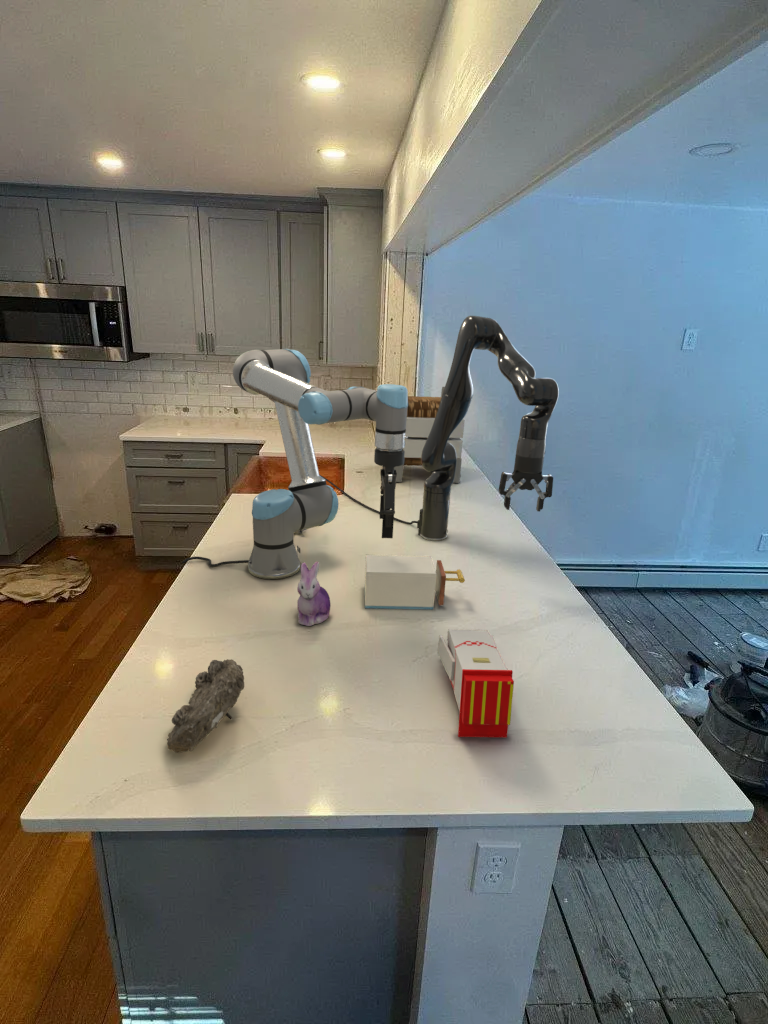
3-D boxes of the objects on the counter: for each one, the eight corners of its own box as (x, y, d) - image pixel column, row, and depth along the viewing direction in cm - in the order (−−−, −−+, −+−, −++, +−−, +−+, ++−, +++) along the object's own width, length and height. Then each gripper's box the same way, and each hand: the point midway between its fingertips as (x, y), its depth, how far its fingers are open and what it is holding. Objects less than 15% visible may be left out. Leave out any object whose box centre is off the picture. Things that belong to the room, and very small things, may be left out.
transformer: (382, 463, 289) (386, 382, 275) (445, 464, 293) (451, 384, 279) (390, 482, 257) (394, 392, 243) (460, 483, 261) (468, 394, 247)
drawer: (458, 588, 160) (460, 560, 157) (464, 605, 151) (467, 576, 148) (378, 586, 159) (379, 558, 156) (379, 604, 150) (381, 574, 147)
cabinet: (428, 590, 161) (431, 555, 157) (433, 609, 151) (436, 573, 147) (364, 588, 160) (365, 554, 156) (364, 608, 150) (366, 571, 146)
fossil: (192, 660, 117) (244, 628, 112) (224, 691, 120) (276, 661, 115) (142, 746, 98) (202, 712, 93) (182, 779, 101) (242, 748, 96)
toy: (488, 613, 130) (523, 677, 101) (484, 667, 133) (517, 744, 104) (435, 612, 130) (455, 676, 101) (432, 666, 133) (451, 743, 103)
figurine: (302, 631, 137) (302, 575, 132) (289, 611, 146) (288, 558, 141) (338, 623, 142) (339, 568, 137) (323, 604, 150) (323, 552, 145)
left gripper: (409, 461, 130) (403, 547, 137) (401, 437, 153) (396, 511, 160) (376, 460, 129) (372, 546, 136) (373, 436, 153) (370, 510, 160)
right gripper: (553, 451, 156) (545, 506, 162) (501, 448, 157) (495, 504, 162) (560, 458, 149) (551, 515, 155) (505, 455, 150) (498, 512, 155)
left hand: (385, 527), depth 148 cm, fingers open, 13 cm apart
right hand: (522, 509), depth 159 cm, fingers open, 8 cm apart
